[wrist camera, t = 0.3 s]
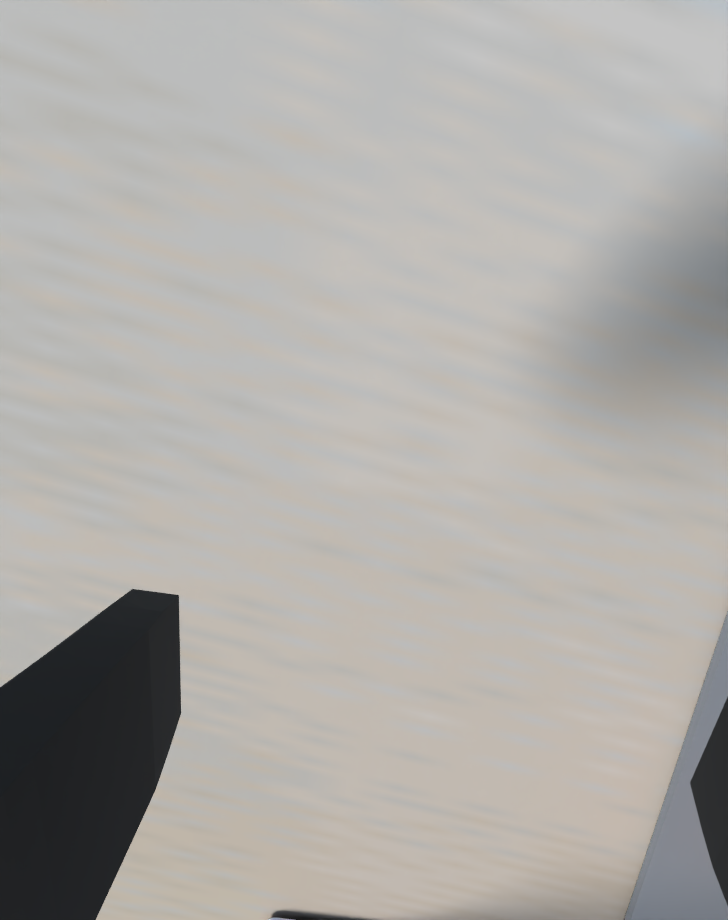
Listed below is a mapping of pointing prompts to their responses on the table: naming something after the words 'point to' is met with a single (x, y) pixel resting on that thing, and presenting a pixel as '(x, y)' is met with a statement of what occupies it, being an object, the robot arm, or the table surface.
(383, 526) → the table surface
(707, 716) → the felt mat
